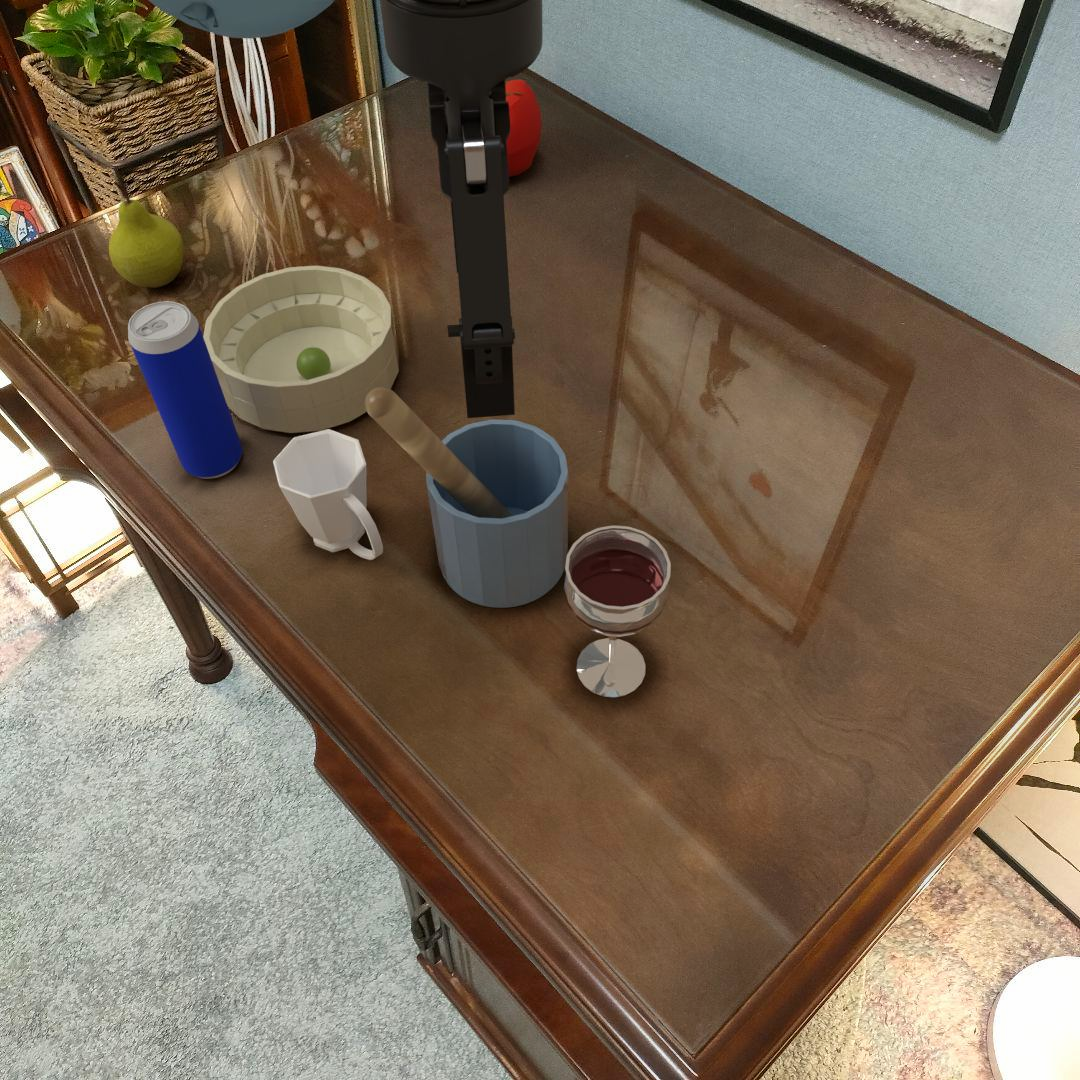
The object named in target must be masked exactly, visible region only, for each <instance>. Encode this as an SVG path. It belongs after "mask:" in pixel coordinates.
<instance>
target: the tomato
mask: <svg viewBox="0 0 1080 1080" xmlns="http://www.w3.org/2000/svg"><path fill="white" fill-rule="evenodd" d="M505 87H506V101H508V102H509V112H510V126H511V128H510V134H509V138H508V139H507V141H506V142H507V156H508V170H509V178H510V177H511V178H512V177H514V176H519V175H520V174H522V173H524V172H525V171H528V169H529V168H530V167H531V166H532V163H533V160H534V157H535V154H536V153H537V152H538V149H539V146H540V143H541V139H542V130H543V129H542V128H543V123H542V114H541V108H540V105H539V102H538V99H537V97H536V94H535V93H534V91H533V89H532V88H531V86H530V85H529V84H527V82H526V81H525V80H523V79H520V78H517V79H512V80H510V79H508V80H505Z"/></svg>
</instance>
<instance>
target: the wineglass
mask: <svg viewBox="0 0 1080 1080" xmlns="http://www.w3.org/2000/svg"><path fill="white" fill-rule="evenodd" d="M671 565H672V564H671V560H670V557H669V554H668V551H667V550H666V549H665V548H664V546H662V544H661V543H660V542H659V540H658V539H656V538H655V537H653V536H652V535H650V534H649V533H647V532H646V531H644V530H641V529H638V528H634V527H631V526H628V525H627V526H626V525H608V526H601V527H597V528H594V529H593V530H591V531H588V532H586V533H584V534H583V535H581V536H580V537H579V538H578V539H577V540H575V542H573V543H572V545H571V547H570V549H569V550H568V554H567V558H566V565H565V569H564V571H565V578H564V585H563V588H564V591H563V593H564V597H565V599H566V604H567V607H568V608H569V610H570V611H571V612H572V614H573V615H574V616H575V618H576V619H577V620H578V622H580V623H581V624H582V625H583V626H584V627H586V628H587V629H589V630H590V631H593V632H595V633H597V634H600V635H602V636H607V638H606V637H605V638H602V639H597V640H595V641H592V642H591V643H588V645H586V646H585V648H583V649H582V650H581V652H580V654H579V656H578V658H577V661H576V672H577V677H578V679H579V680H580V681H581V683H582V685H583V686H584V687H585V688H586V689H587V690H589V691H590V692H591V693H594V694H596V695H599V696H601V697H604V698H605V697H606V698H619V697H625V696H626V695H628V694H631V693H632V692H634V691H636V690H637V689H638V687H639V686H640V685H642V683H643V680H644V679H645V676H646V669H647V668H646V667H647V666H646V663H645V659H644V656H643V655H642V653H641V652H640V650H639V649H638V648H637V647H636V646H634V645H633V644H631V643H630V642H628V641H626V640H623V639H620V638H622V637H626V636H632V635H635V634H638V633H640V632H642V631H644V630H645V629H647V628H648V627H650V625H652V624H653V623H654V622H655V621H656V620H657V619H658V618H659V617H660V616H661V614H662V612H663V611H664V608H665V606H666V604H667V601H668V598H669V596H670V595H669V593H670V581H669V580H670V578H671V568H672V567H671Z"/></svg>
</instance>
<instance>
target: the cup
mask: <svg viewBox="0 0 1080 1080" xmlns="http://www.w3.org/2000/svg"><path fill="white" fill-rule="evenodd" d="M272 463H273V467H274V471H275V476H276V479H277V483H278V488H279V489H280V490H281V492H282V494H283V496H284V497H285V499H286V501H287V502H288V504H289V505H290V508H291V509H292V511H293V513H294V514H295V517H296V518H297V520H298V523H299V524H300V525H301V526H302V527H303V528H304V530H305V531H306V532H307V533H308V535H309V536H310V537H311V538H312V539H313V544H314V546H316V547H318V548H320V549H323V550H326V551H328V552H330V553H336V552H340V551H343V550H346V549H349V550H350V551H351V552H352V554H354V555H356V556H358V557H360V558H362V559H366V560H368V561H373V560H374V559H376V558H378V557H379V556H381V555H382V554H384V545H383V542H382V541H383V540H382V538H381V534H380V532H379V530H378V527H377V524H376V522H375V521H374V519H373V517H372V516H371V513H370V512H369V511H368V510H367V509H368V508H367V503H368V502H367V501H368V500H367V462H366V459H365V456H364V453H363V449H362V446H361V444H360V440H359V439H358V438H354V437H352V436H349V435H346V434H343V433H341V432H338V431H335V430H333V429H331V428H328V429H324V430H320V431H314V432H311V433H310V432H309V433H307V434H303V435H298V436H294V437H293V438H292V439H291V440H290V441H289V442H288V443H287V444H286V445H285V446H284V448H283V449H282V450H281V451H280V452H279V453H278V454H277V455H276V457H275V458H274V459H273V460H272ZM365 533H366V534H367V537H368V540H369V542H370V546H371V549H368V548H366V547H365V546H362V545H361V544H360V543H359V540H360V539H361V538H362V536H363V535H364V534H365Z"/></svg>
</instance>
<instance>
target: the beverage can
mask: <svg viewBox="0 0 1080 1080" xmlns="http://www.w3.org/2000/svg"><path fill="white" fill-rule="evenodd" d="M203 335H204V334H203V332H202V329H201V325H200V323H199V321H198V318H197V317H196V316H195V315H194V313H192V311H191V310H190V309H189V308H188V307H187V306H186V305H184V304H181V302H176V301H171V300H170V301H169V300H168V301H164V300H163V301H155V302H153V303H152V302H151V303H150V304H147V305H145V306H143V307H140V308H139V309H137V310H136V311H135V312H134V313H133V314H132V315H131V317H130V318H129V321H128V323H127V337H128V339H127V340H128V343H129V345H130V348H131V350H132V352H133V355H134V357H135V359H136V362H137V364H138V366H139V369H140V372H141V374H142V375H143V378H144V380H145V383H146V385H147V387H148V390H149V392H150V394H151V397H152V399H153V401H154V404H155V406H156V408H157V411H158V414H159V416H160V418H161V420H162V423H163V425H164V428H165V430H166V432H167V434H168V437H169V439H170V442H171V444H172V446H173V448H174V450H175V453H176V456H177V457H178V460H179V462H180V464H181V466H182V469H183V470H184V471H185V472H186V473H188V474H189V475H191V476H194V477H196V478H199V479H206V480H209V479H210V480H211V479H217V478H221V477H223V476H225V475H228V474H229V473H230V472H231V471H233V470H234V469H235V468H236V467H237V465H238V464H239V462H240V460H241V458H242V455H243V446H242V443H241V440H240V437H239V435H238V431H237V428H236V426H235V422H234V420H233V418H232V417H233V416H232V415H231V411H230V408H229V407H228V406H227V403H226V400H225V397H224V394H223V392H222V389H221V386H220V383H219V380H218V377H217V374H216V372H215V369H214V366H213V363H212V360H211V357H210V355H209V352H208V349H207V346H206V343H205V340H204V338H203Z"/></svg>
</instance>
